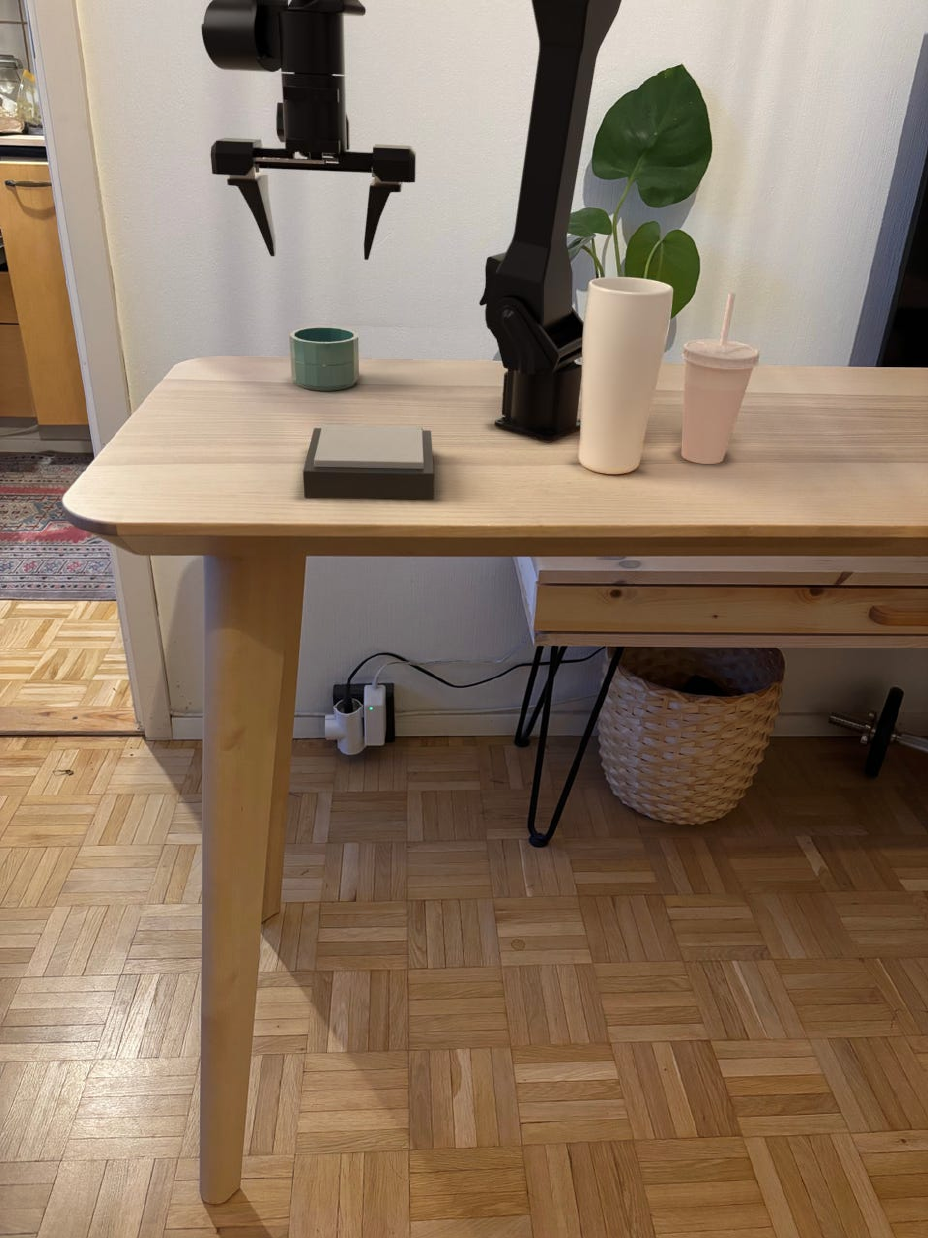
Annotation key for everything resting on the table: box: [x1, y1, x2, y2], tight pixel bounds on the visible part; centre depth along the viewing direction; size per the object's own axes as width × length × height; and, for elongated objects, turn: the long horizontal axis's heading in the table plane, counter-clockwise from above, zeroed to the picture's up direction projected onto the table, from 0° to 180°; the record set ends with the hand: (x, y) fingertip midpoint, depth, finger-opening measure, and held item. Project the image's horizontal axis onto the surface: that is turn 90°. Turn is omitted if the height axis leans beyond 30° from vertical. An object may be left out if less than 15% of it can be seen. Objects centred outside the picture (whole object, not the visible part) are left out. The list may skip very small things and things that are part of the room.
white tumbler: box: [577, 276, 674, 475], centre depth 76 cm, size 7×7×15 cm
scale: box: [302, 423, 435, 500], centre depth 75 cm, size 10×10×3 cm
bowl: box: [289, 326, 360, 392], centre depth 96 cm, size 7×7×5 cm
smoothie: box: [680, 292, 761, 465], centre depth 79 cm, size 6×6×14 cm
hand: (320, 257), depth 91 cm, fingers open, 9 cm apart
